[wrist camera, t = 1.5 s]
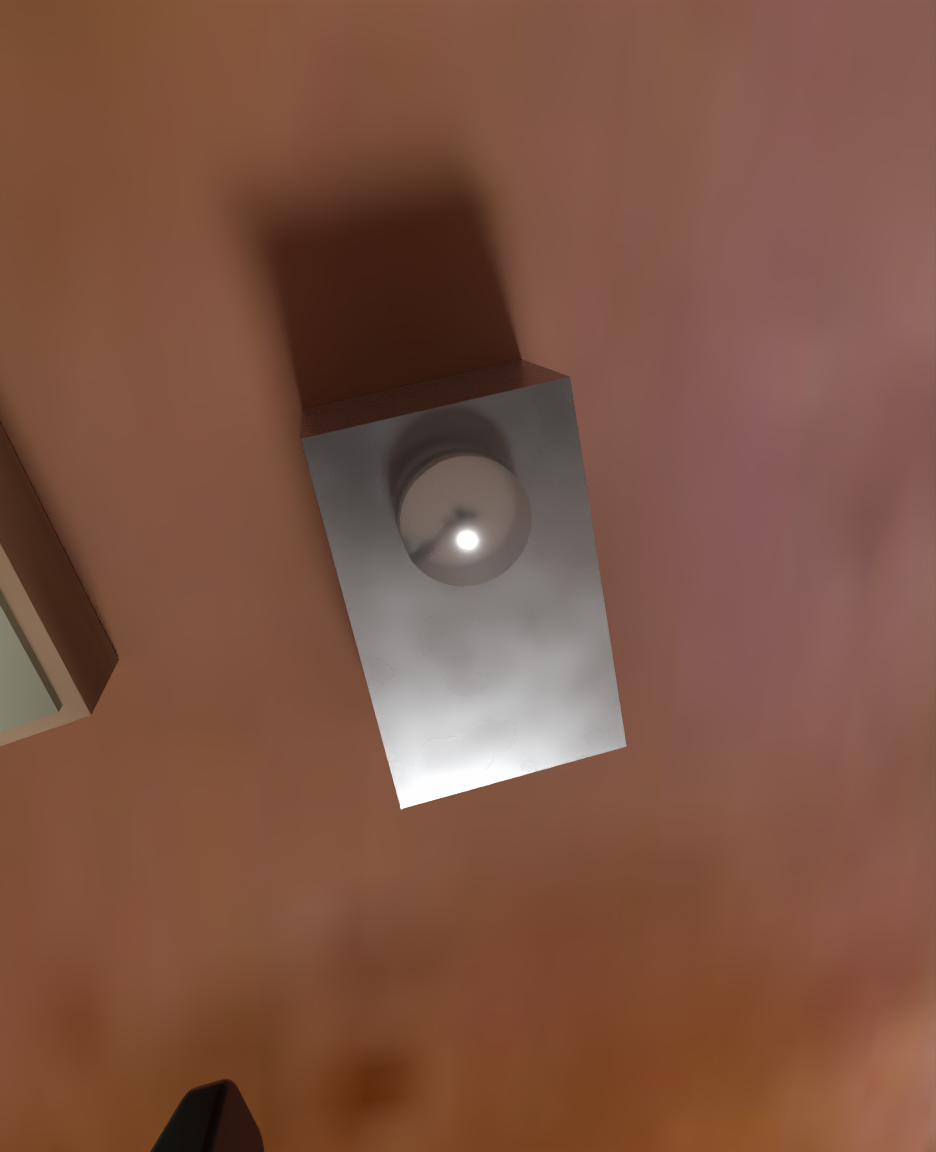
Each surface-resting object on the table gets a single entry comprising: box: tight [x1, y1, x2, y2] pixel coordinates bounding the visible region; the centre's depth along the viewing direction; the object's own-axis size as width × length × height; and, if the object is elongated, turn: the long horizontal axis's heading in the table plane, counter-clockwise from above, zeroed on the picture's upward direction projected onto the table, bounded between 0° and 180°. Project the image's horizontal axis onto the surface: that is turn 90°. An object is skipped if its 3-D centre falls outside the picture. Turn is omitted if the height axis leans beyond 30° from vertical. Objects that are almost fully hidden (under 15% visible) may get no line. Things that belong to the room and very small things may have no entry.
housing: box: [301, 359, 626, 809], centre depth 18 cm, size 5×8×5 cm, turn 11°
